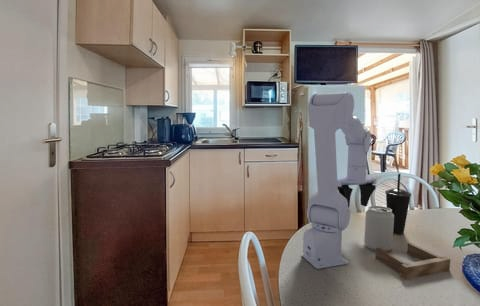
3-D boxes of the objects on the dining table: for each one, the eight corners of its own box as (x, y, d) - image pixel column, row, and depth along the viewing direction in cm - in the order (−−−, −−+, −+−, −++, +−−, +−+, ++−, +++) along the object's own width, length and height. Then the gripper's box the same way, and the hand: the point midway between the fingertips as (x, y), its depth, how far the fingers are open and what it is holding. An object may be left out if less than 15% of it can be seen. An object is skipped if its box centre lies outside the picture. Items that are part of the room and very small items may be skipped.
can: (397, 253, 79) (400, 212, 78) (370, 253, 80) (372, 211, 78) (384, 242, 87) (386, 204, 86) (359, 242, 87) (361, 204, 86)
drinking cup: (412, 237, 91) (416, 176, 89) (386, 235, 92) (390, 175, 90) (403, 228, 98) (407, 172, 96) (380, 227, 100) (383, 171, 98)
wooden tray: (405, 279, 66) (406, 267, 66) (372, 259, 76) (373, 248, 76) (449, 270, 70) (450, 259, 70) (412, 252, 80) (413, 242, 80)
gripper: (366, 163, 97) (364, 201, 98) (330, 164, 93) (328, 204, 94) (382, 165, 90) (379, 207, 92) (344, 167, 86) (342, 211, 87)
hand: (355, 206), depth 92 cm, fingers open, 6 cm apart
